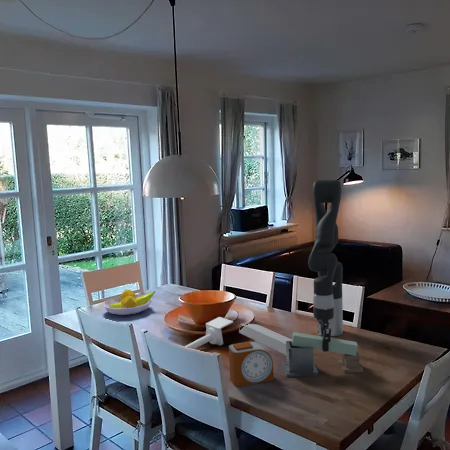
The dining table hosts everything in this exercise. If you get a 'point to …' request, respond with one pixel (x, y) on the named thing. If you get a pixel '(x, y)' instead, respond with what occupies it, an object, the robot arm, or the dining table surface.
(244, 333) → the decorative molding
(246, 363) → the alarm clock
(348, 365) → the post
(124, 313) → the fruit bowl
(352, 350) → the green rail
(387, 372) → the dining table surface
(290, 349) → the cup bracket
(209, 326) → the white mallet
